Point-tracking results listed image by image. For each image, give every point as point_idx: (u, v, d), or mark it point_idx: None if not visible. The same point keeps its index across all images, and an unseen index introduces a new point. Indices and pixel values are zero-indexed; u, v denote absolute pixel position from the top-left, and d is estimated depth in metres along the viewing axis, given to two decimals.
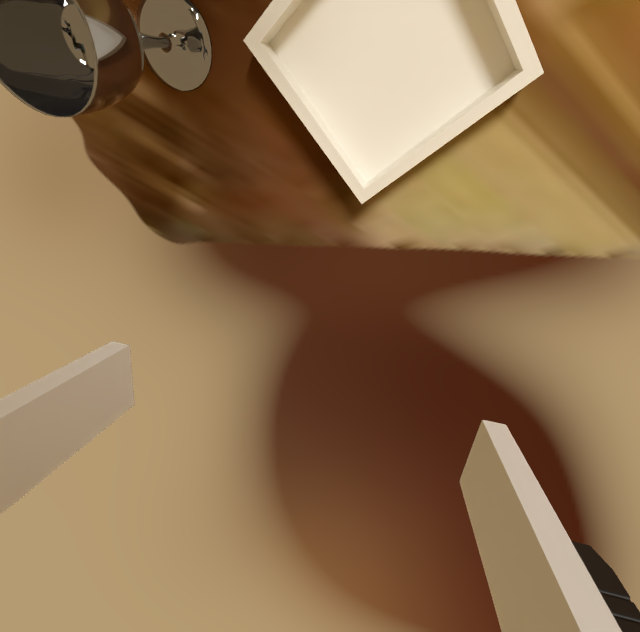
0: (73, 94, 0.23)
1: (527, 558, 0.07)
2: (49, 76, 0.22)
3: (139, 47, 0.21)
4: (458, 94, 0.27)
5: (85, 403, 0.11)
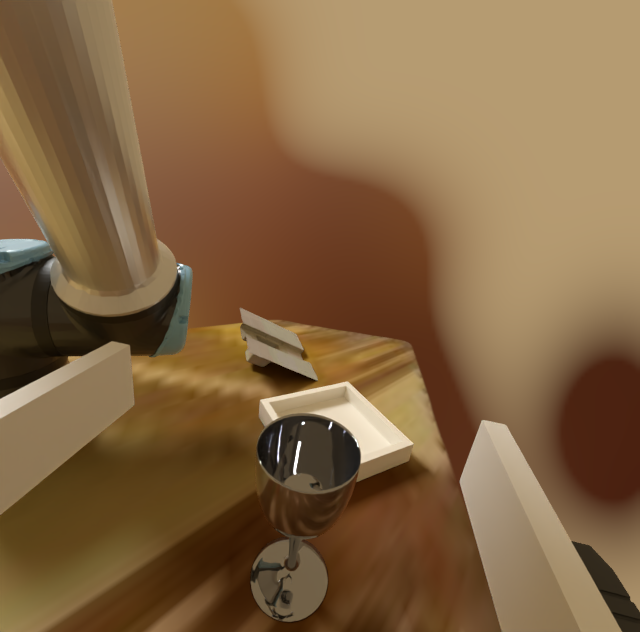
0: None
1: (527, 558, 0.07)
2: None
3: None
4: (351, 412, 0.53)
5: (85, 403, 0.11)
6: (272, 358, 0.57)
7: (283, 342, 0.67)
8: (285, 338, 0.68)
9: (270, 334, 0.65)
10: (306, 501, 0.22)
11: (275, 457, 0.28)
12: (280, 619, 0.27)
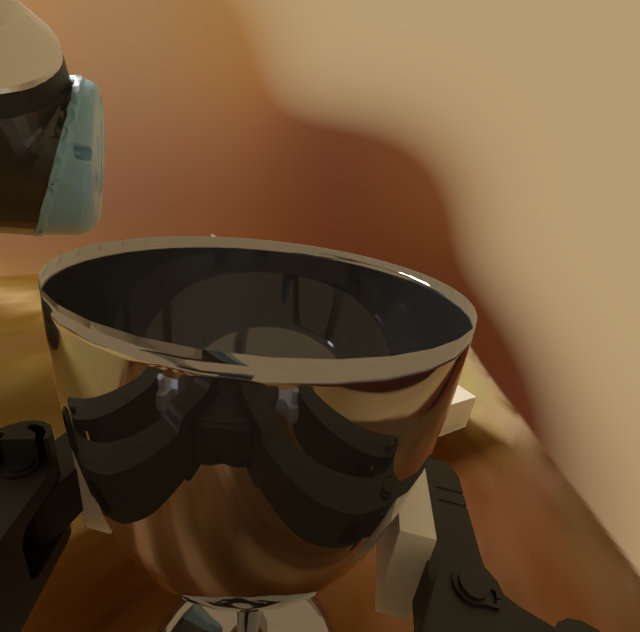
0: None
1: None
2: None
3: None
4: None
5: None
6: None
7: None
8: None
9: None
10: (232, 430, 0.04)
11: None
12: None
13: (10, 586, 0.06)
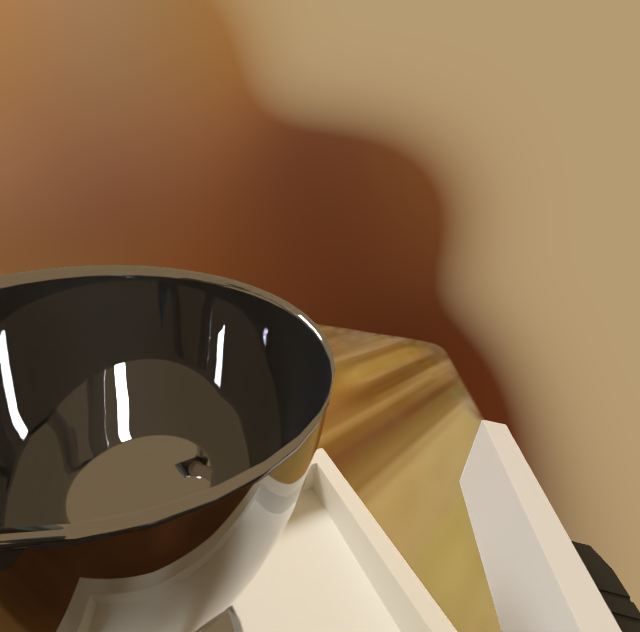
0: None
1: (527, 558, 0.07)
2: None
3: None
4: (327, 551, 0.18)
5: None
6: None
7: None
8: None
9: None
10: None
11: (93, 389, 0.10)
12: None
13: None
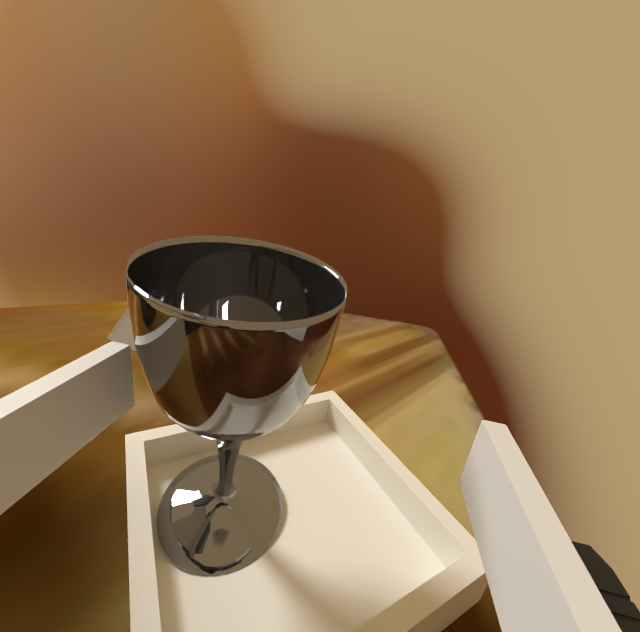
0: None
1: (527, 558, 0.07)
2: None
3: None
4: (338, 455, 0.25)
5: (85, 403, 0.11)
6: None
7: None
8: None
9: None
10: (221, 348, 0.10)
11: None
12: (197, 571, 0.16)
13: None
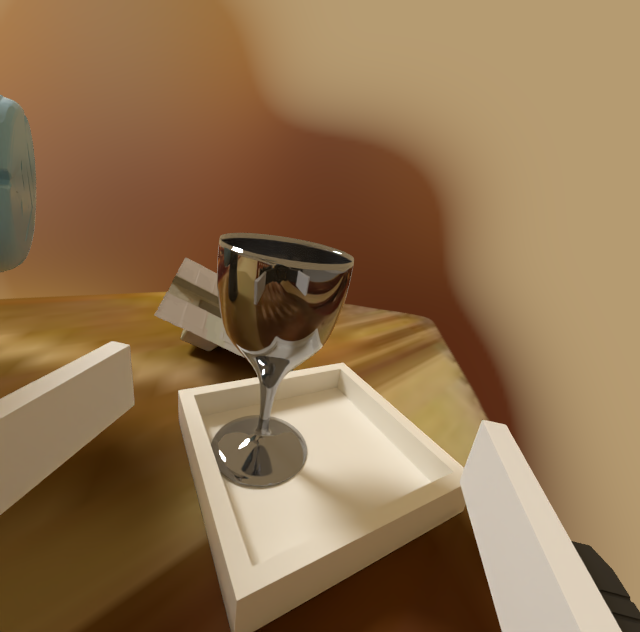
0: None
1: (527, 558, 0.07)
2: None
3: None
4: (349, 413, 0.30)
5: (85, 403, 0.11)
6: (207, 332, 0.33)
7: None
8: None
9: None
10: (285, 279, 0.16)
11: None
12: (247, 483, 0.21)
13: None
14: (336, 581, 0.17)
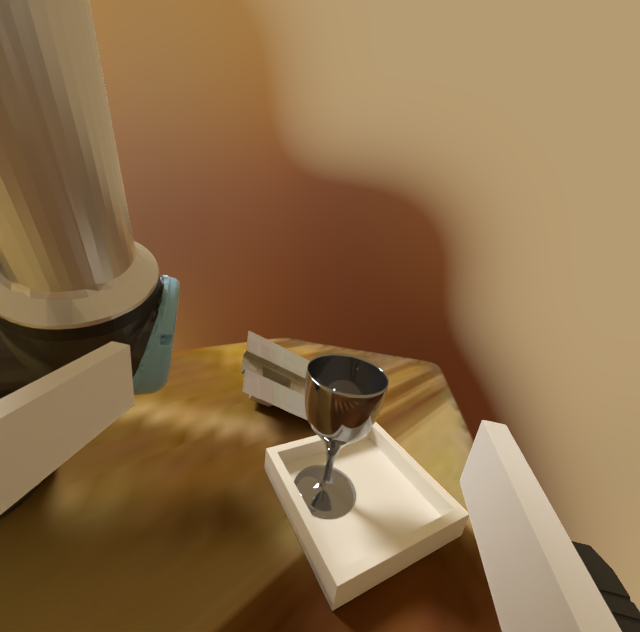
0: None
1: (527, 558, 0.07)
2: None
3: None
4: (380, 461, 0.42)
5: (85, 403, 0.11)
6: (275, 399, 0.45)
7: (297, 376, 0.54)
8: (302, 371, 0.56)
9: (282, 366, 0.53)
10: (353, 404, 0.28)
11: None
12: (322, 517, 0.33)
13: None
14: (384, 579, 0.29)
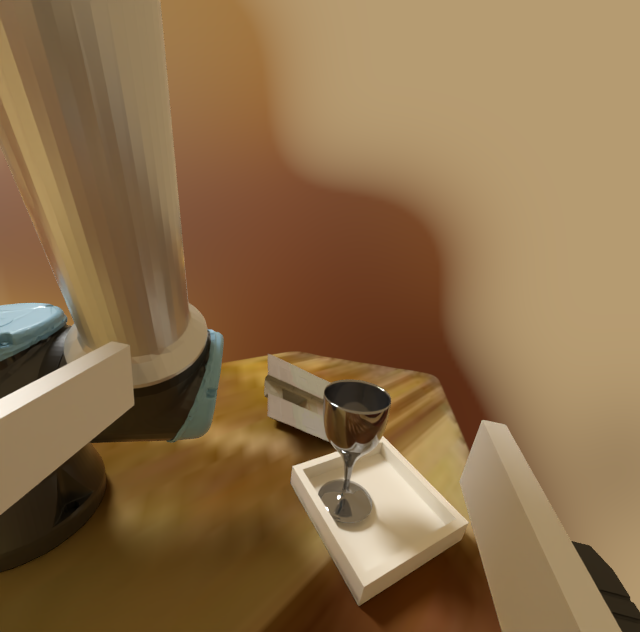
0: None
1: (527, 558, 0.07)
2: None
3: None
4: (390, 474, 0.48)
5: (85, 403, 0.11)
6: (295, 421, 0.50)
7: (313, 396, 0.59)
8: (316, 390, 0.61)
9: (299, 387, 0.58)
10: (365, 419, 0.35)
11: None
12: (346, 522, 0.39)
13: None
14: (399, 579, 0.35)
